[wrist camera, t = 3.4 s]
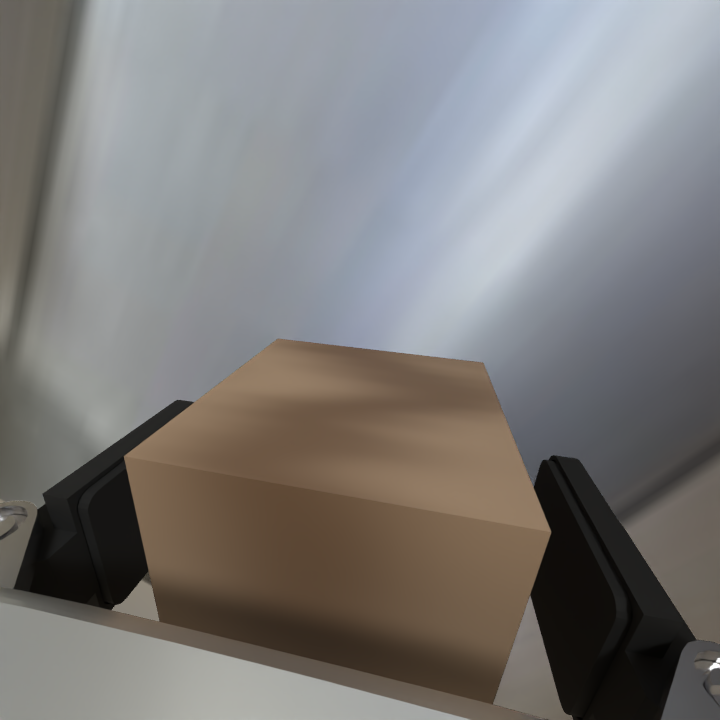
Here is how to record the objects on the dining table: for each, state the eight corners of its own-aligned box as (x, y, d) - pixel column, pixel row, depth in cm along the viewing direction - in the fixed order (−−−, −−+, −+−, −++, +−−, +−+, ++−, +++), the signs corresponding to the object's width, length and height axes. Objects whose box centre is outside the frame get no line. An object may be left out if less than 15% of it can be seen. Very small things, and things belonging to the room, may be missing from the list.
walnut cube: (482, 361, 10) (551, 532, 4) (449, 524, 12) (468, 774, 7) (278, 337, 11) (124, 456, 5) (282, 494, 13) (175, 693, 7)
